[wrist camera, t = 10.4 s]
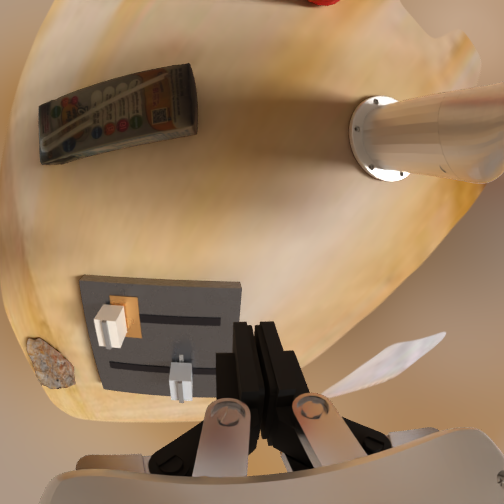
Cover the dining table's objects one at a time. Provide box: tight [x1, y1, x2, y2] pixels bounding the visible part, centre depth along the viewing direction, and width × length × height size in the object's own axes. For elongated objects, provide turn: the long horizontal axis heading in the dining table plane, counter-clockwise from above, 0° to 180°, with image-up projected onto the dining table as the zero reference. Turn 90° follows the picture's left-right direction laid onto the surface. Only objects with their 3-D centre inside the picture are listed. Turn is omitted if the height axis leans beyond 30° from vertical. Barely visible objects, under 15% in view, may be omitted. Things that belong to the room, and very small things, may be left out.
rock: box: [27, 338, 76, 389], centre depth 35 cm, size 9×6×10 cm
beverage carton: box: [39, 63, 198, 165], centre depth 26 cm, size 8×19×7 cm, turn 96°
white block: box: [169, 362, 193, 403], centre depth 36 cm, size 3×4×4 cm
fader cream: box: [94, 304, 127, 350], centre depth 32 cm, size 3×4×4 cm
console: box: [79, 275, 242, 397], centre depth 38 cm, size 22×20×2 cm
